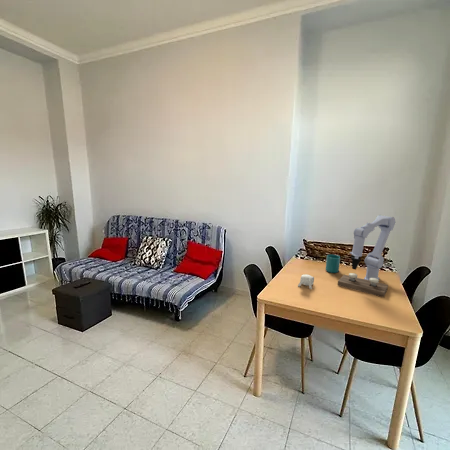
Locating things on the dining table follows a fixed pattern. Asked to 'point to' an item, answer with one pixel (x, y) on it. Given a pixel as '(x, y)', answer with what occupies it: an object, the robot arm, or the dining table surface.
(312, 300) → the dining table surface
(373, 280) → the button
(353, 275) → the button
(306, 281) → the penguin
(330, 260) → the cup
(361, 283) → the console
